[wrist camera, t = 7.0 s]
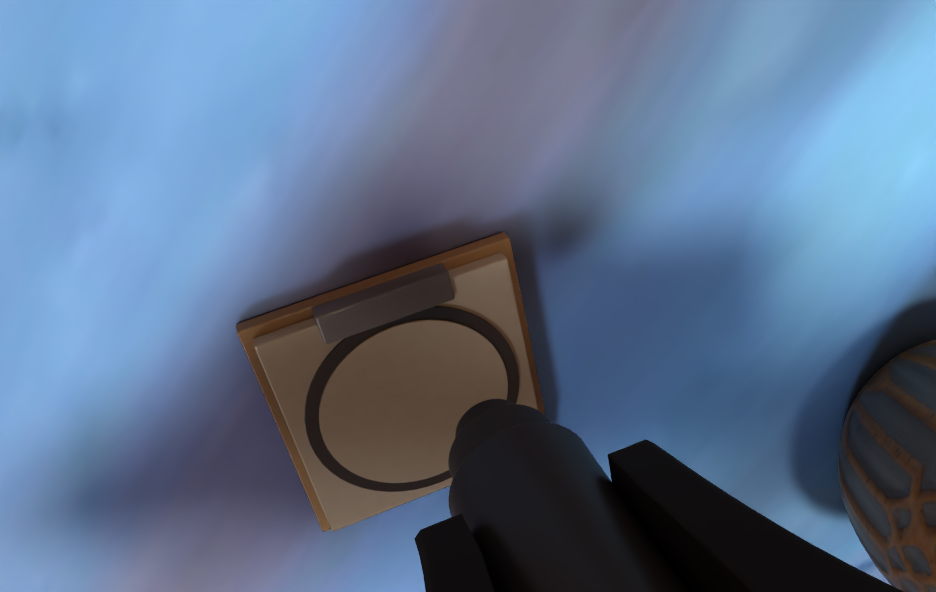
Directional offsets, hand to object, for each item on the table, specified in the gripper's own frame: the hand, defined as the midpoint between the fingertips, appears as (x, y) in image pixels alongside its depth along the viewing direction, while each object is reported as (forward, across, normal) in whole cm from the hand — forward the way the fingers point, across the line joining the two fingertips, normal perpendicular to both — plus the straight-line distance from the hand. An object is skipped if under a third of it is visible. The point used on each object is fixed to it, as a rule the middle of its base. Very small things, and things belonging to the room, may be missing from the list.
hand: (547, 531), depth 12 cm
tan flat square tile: (+5, +1, 0) cm, 5 cm away
